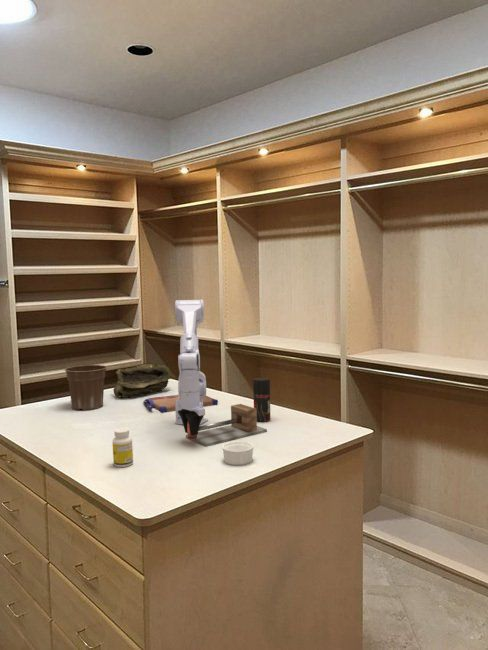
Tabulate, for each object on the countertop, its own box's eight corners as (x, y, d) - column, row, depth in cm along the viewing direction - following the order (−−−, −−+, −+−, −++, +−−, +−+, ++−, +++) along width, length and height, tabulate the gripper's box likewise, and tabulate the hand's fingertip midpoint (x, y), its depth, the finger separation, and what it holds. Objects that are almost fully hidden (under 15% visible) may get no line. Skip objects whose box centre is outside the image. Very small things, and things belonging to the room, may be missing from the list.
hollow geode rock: (170, 398, 250) (159, 372, 258) (179, 382, 242) (168, 356, 250) (112, 406, 233) (103, 378, 241) (121, 390, 225) (111, 361, 233)
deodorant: (269, 422, 189) (268, 380, 188) (252, 422, 191) (251, 380, 189) (271, 418, 195) (271, 377, 194) (255, 417, 196) (254, 377, 195)
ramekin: (260, 462, 151) (259, 446, 150) (233, 468, 146) (232, 453, 145) (242, 453, 158) (242, 439, 158) (216, 459, 153) (216, 444, 153)
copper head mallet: (190, 439, 166) (190, 423, 166) (185, 437, 169) (185, 421, 168) (237, 428, 177) (237, 413, 177) (232, 426, 180) (232, 411, 179)
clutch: (219, 406, 217) (200, 396, 235) (219, 394, 217) (199, 386, 234) (152, 415, 204) (137, 405, 221) (152, 403, 204) (137, 393, 221)
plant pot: (95, 400, 229) (93, 362, 228) (116, 406, 218) (114, 366, 217) (59, 407, 218) (57, 368, 216) (79, 414, 207) (77, 372, 205)
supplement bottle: (115, 461, 153) (113, 427, 152) (134, 460, 154) (132, 426, 153) (112, 468, 148) (110, 433, 147) (132, 467, 148) (130, 432, 147)
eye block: (205, 446, 165) (204, 421, 164) (185, 437, 174) (185, 413, 173) (266, 431, 179) (266, 408, 178) (245, 424, 188) (244, 401, 188)
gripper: (213, 392, 163) (214, 436, 165) (190, 385, 175) (191, 426, 177) (192, 396, 159) (194, 441, 161) (170, 388, 171) (172, 429, 173)
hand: (191, 433), depth 168 cm, fingers closed on copper head mallet, 3 cm apart
